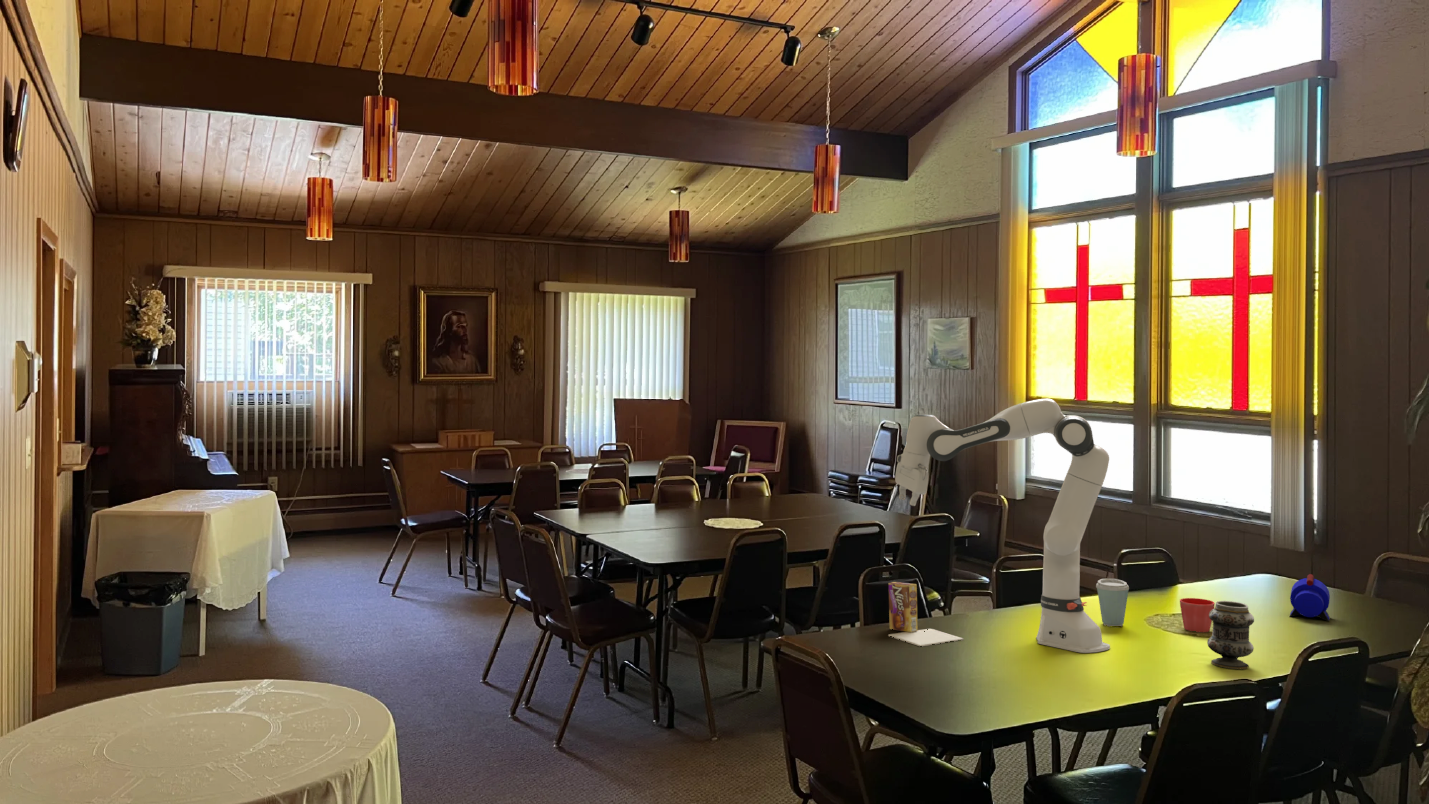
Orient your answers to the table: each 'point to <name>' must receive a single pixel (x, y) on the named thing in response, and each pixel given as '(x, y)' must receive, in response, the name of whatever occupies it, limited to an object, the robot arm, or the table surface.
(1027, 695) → the table surface
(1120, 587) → the disposable coffee cup
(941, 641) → the mat
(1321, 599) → the alarm clock
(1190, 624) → the flower pot
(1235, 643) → the apothecary jar
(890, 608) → the candy box
